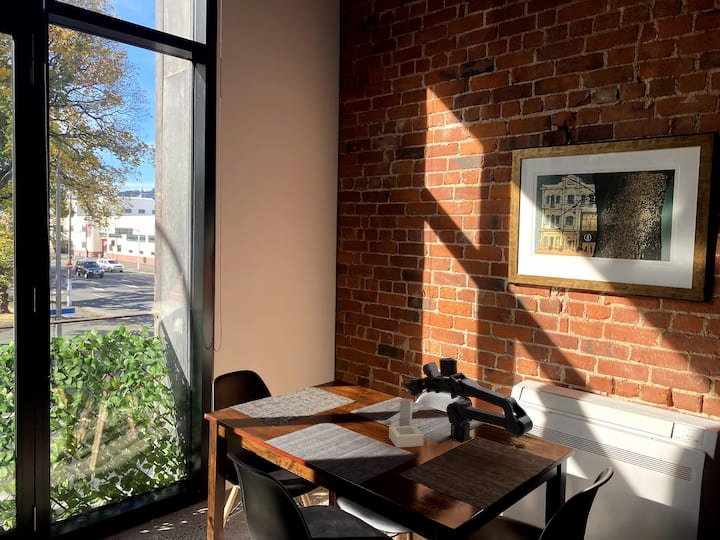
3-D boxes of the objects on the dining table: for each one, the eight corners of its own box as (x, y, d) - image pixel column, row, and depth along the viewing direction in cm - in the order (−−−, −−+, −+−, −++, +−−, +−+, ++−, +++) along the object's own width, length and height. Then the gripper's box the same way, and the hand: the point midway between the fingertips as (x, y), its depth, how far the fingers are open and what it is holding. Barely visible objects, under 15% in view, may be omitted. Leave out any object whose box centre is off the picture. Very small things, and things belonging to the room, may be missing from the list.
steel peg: (411, 429, 226) (412, 399, 225) (409, 433, 223) (410, 402, 222) (401, 428, 228) (402, 398, 227) (399, 431, 224) (400, 401, 223)
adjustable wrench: (390, 426, 230) (390, 422, 230) (376, 423, 234) (376, 418, 234) (420, 410, 251) (420, 406, 251) (407, 407, 255) (407, 403, 254)
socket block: (414, 435, 220) (414, 425, 220) (423, 445, 210) (423, 435, 210) (388, 437, 218) (389, 426, 217) (396, 447, 208) (397, 436, 208)
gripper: (454, 360, 230) (423, 358, 241) (426, 367, 217) (394, 366, 227) (456, 388, 230) (425, 385, 241) (428, 397, 217) (396, 394, 227)
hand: (410, 382), depth 234 cm, fingers open, 9 cm apart
